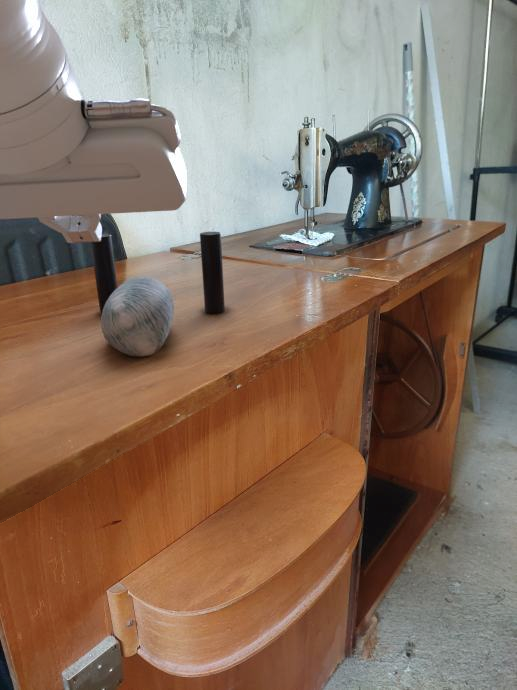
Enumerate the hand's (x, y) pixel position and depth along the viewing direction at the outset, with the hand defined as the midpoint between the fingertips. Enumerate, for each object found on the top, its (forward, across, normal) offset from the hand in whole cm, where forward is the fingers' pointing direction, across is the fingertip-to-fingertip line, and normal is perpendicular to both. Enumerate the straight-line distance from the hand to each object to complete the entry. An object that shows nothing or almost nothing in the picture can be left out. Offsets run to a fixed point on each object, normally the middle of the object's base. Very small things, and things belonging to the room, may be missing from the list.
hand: (85, 236), depth 47 cm
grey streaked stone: (+22, 0, 0) cm, 22 cm away
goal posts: (+31, 0, -9) cm, 32 cm away
